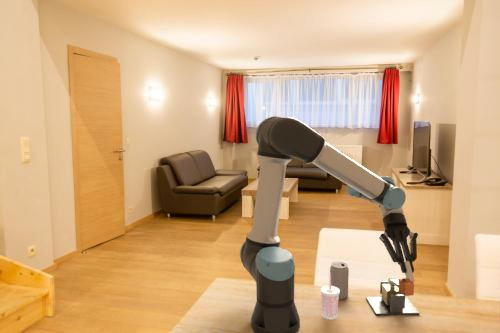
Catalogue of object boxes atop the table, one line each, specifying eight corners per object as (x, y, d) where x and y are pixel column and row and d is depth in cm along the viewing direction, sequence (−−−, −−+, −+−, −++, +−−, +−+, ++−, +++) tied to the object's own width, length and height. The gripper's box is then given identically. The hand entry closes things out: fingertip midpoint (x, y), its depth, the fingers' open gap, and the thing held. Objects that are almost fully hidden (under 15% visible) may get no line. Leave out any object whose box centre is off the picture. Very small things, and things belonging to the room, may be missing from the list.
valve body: (376, 315, 124) (377, 292, 123) (366, 299, 135) (366, 278, 134) (419, 315, 124) (420, 292, 123) (405, 298, 135) (406, 277, 134)
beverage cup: (323, 321, 121) (324, 279, 119) (317, 311, 127) (318, 271, 125) (342, 319, 122) (343, 278, 120) (335, 310, 128) (335, 270, 126)
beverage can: (349, 300, 135) (350, 268, 133) (331, 300, 135) (332, 268, 133) (345, 292, 141) (346, 260, 139) (328, 292, 141) (328, 261, 139)
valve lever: (386, 282, 130) (386, 270, 129) (394, 281, 130) (394, 269, 130) (405, 297, 120) (405, 284, 119) (413, 295, 120) (414, 282, 120)
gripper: (407, 221, 139) (427, 285, 126) (372, 222, 139) (387, 286, 126) (414, 211, 133) (435, 277, 120) (377, 212, 133) (394, 278, 120)
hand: (411, 282), depth 123 cm, fingers closed
